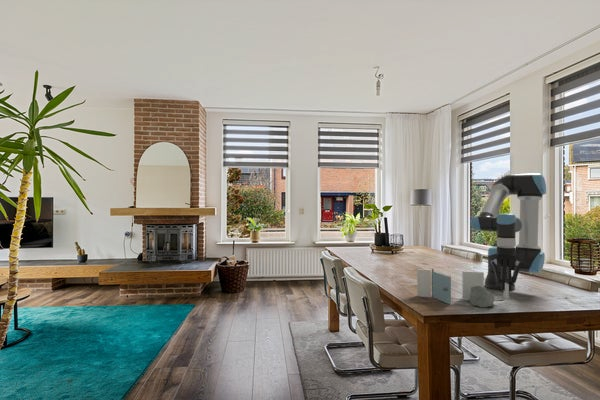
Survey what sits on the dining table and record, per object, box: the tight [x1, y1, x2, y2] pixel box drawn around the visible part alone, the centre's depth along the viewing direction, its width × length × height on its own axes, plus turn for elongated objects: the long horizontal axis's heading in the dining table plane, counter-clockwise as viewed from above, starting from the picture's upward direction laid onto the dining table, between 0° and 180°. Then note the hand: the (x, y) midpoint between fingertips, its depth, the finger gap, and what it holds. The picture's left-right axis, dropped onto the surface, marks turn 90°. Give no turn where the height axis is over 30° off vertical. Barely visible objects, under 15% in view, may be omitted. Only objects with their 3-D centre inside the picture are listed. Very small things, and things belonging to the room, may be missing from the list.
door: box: [432, 270, 452, 305], centre depth 171 cm, size 12×3×13 cm, turn 14°
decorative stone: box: [469, 286, 496, 308], centre depth 165 cm, size 13×11×10 cm
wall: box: [416, 268, 485, 301], centre depth 176 cm, size 31×1×14 cm, turn 74°
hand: (506, 297), depth 162 cm, fingers closed
